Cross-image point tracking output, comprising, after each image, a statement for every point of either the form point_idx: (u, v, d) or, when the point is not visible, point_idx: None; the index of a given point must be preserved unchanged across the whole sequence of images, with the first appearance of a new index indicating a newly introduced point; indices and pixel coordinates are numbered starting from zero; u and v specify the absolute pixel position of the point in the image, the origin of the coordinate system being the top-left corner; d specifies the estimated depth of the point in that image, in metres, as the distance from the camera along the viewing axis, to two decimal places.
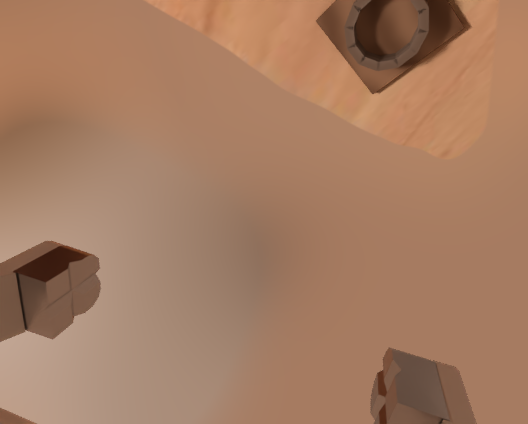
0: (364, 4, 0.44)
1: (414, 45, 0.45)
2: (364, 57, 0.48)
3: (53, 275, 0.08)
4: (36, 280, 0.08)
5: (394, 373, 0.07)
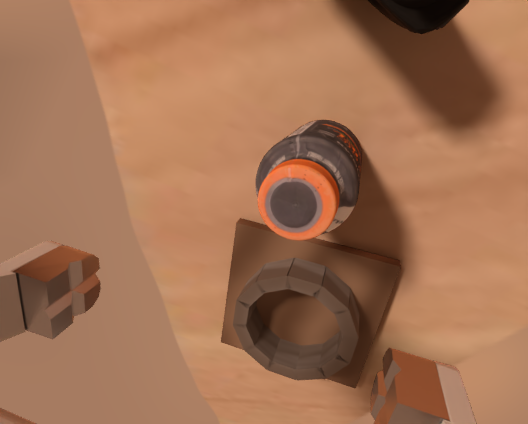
0: (298, 289, 0.27)
1: (301, 372, 0.30)
2: (245, 326, 0.30)
3: (53, 275, 0.08)
4: (36, 280, 0.08)
5: (394, 373, 0.07)
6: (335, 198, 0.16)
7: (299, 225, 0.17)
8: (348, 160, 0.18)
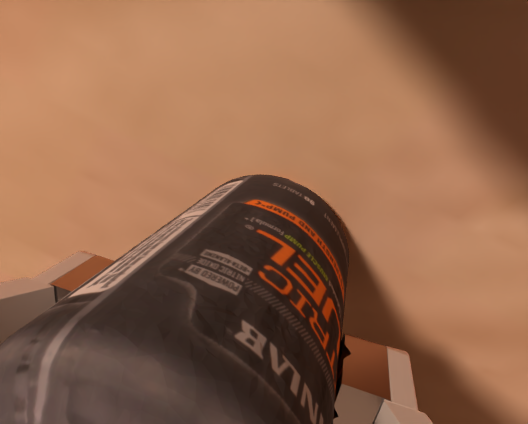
0: None
1: None
2: None
3: None
4: None
5: (345, 357, 0.08)
6: None
7: None
8: None
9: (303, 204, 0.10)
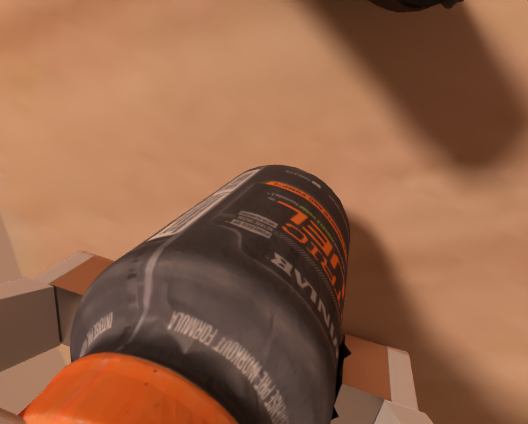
0: None
1: None
2: None
3: None
4: (75, 293, 0.08)
5: (345, 357, 0.08)
6: None
7: None
8: (300, 331, 0.06)
9: (311, 186, 0.12)
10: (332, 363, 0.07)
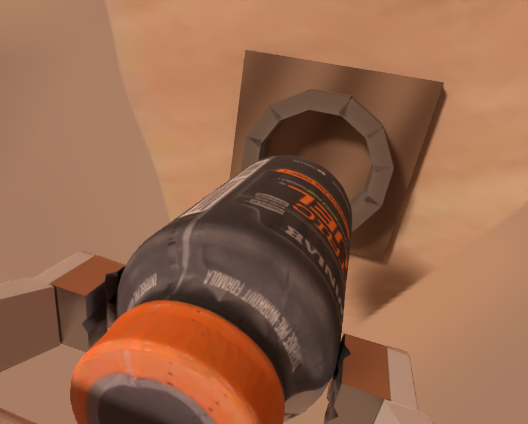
0: (321, 109, 0.22)
1: None
2: None
3: (91, 288, 0.08)
4: (75, 293, 0.08)
5: (345, 357, 0.08)
6: None
7: None
8: (311, 286, 0.07)
9: (317, 173, 0.13)
10: (337, 315, 0.08)
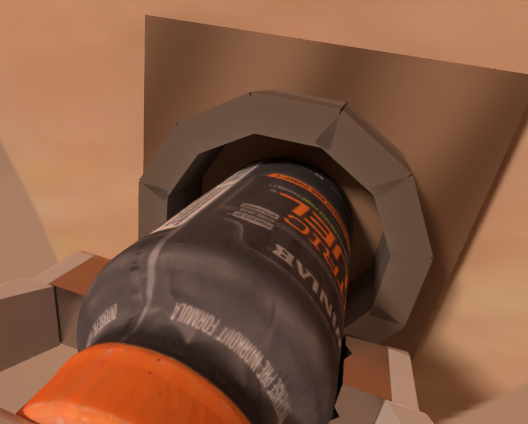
0: (279, 132, 0.10)
1: None
2: None
3: None
4: (74, 293, 0.08)
5: (346, 357, 0.08)
6: None
7: None
8: (302, 321, 0.06)
9: (314, 178, 0.12)
10: (334, 352, 0.07)
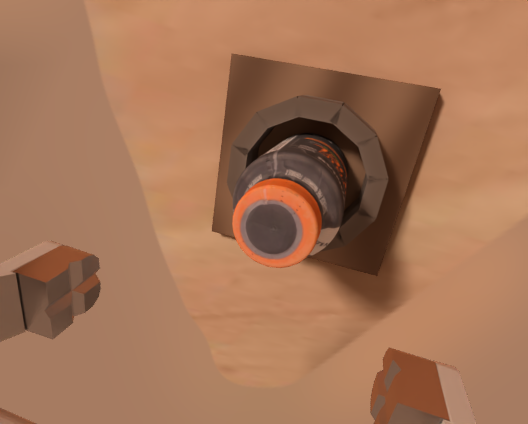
0: (311, 116, 0.21)
1: None
2: None
3: (53, 275, 0.08)
4: (36, 280, 0.08)
5: (394, 373, 0.07)
6: (316, 221, 0.15)
7: (278, 251, 0.15)
8: (331, 178, 0.16)
9: (327, 141, 0.22)
10: (342, 195, 0.17)
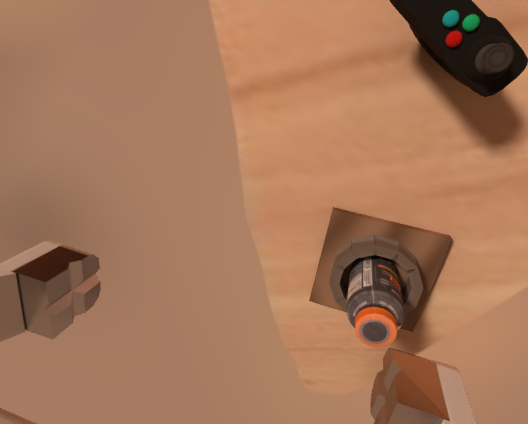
0: (382, 255, 0.39)
1: None
2: (338, 283, 0.42)
3: (53, 275, 0.08)
4: (36, 280, 0.08)
5: (394, 373, 0.07)
6: (396, 329, 0.33)
7: (377, 341, 0.34)
8: (399, 303, 0.35)
9: (388, 264, 0.41)
10: None
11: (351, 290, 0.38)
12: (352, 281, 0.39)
